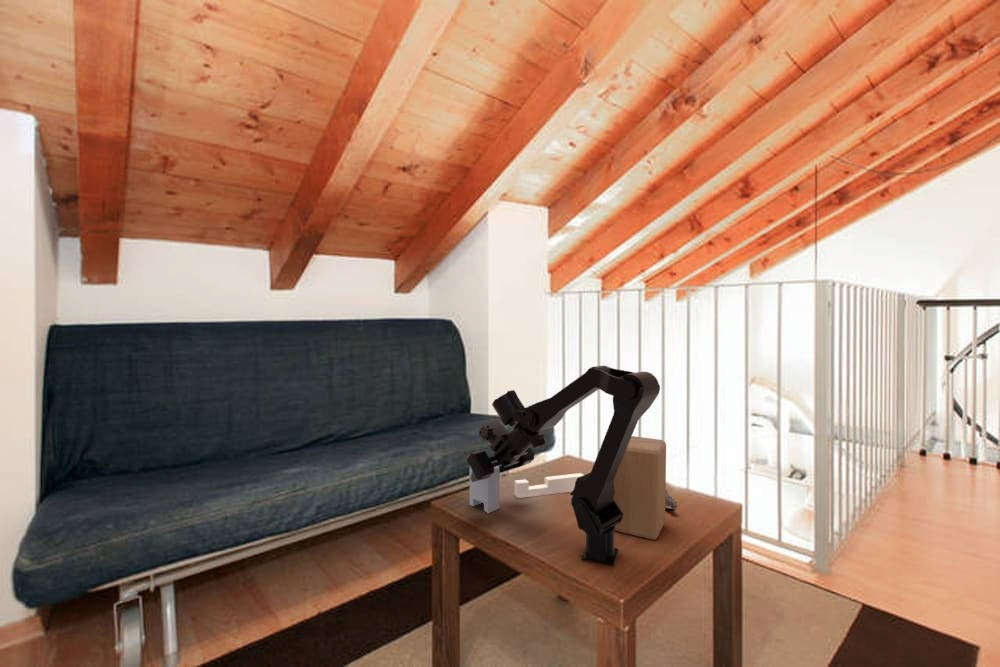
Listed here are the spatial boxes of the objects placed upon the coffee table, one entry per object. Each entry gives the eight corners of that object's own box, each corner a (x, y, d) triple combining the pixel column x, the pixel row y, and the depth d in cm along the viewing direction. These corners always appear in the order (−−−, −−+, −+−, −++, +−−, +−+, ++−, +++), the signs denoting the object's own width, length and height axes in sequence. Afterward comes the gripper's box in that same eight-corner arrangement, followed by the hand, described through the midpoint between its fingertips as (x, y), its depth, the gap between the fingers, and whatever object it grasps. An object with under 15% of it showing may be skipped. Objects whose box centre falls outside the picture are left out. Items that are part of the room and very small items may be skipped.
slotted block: (499, 508, 116) (499, 467, 116) (487, 513, 113) (487, 471, 113) (480, 501, 121) (480, 461, 121) (469, 505, 118) (469, 465, 118)
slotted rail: (584, 490, 129) (585, 475, 129) (517, 498, 123) (517, 483, 123) (580, 486, 131) (581, 473, 131) (514, 495, 125) (514, 480, 125)
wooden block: (623, 515, 113) (623, 433, 112) (665, 524, 108) (667, 439, 107) (611, 531, 104) (612, 443, 103) (657, 542, 99) (658, 450, 98)
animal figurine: (647, 504, 123) (646, 484, 123) (663, 503, 123) (662, 483, 124) (666, 515, 111) (665, 493, 111) (684, 514, 111) (683, 492, 112)
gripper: (526, 408, 119) (495, 441, 127) (472, 419, 105) (442, 456, 114) (549, 444, 114) (516, 477, 122) (496, 461, 100) (462, 496, 108)
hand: (485, 475), depth 117 cm, fingers open, 9 cm apart
